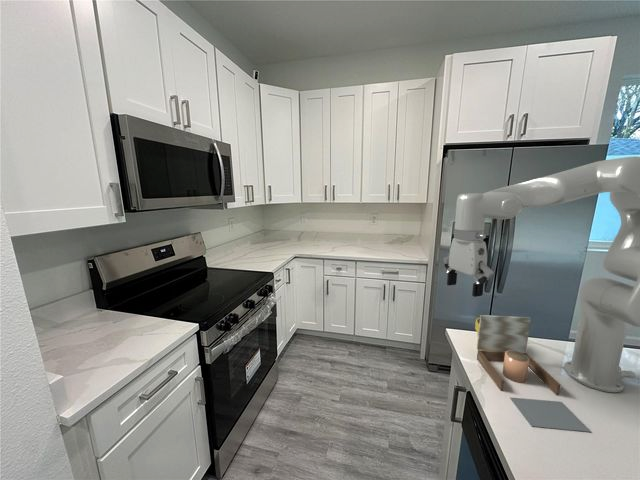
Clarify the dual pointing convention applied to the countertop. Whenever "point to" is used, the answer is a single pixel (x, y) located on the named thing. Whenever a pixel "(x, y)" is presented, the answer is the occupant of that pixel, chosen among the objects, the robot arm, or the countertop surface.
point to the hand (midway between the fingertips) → (463, 290)
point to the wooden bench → (507, 346)
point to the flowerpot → (515, 366)
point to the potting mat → (548, 414)
